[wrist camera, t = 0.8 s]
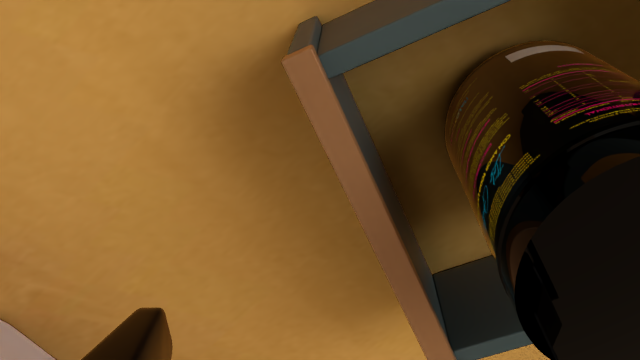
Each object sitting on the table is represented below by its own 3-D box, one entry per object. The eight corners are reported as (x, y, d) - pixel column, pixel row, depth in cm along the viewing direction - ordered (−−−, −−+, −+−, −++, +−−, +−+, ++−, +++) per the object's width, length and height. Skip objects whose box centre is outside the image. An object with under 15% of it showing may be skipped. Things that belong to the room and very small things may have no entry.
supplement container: (452, 205, 23) (524, 399, 14) (428, 59, 20) (499, 180, 11) (611, 174, 22) (803, 360, 13) (609, 15, 19) (857, 108, 10)
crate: (724, 202, 23) (830, 281, 18) (422, 298, 26) (441, 389, 21) (679, -155, 17) (817, -183, 12) (295, 25, 20) (280, 61, 15)
